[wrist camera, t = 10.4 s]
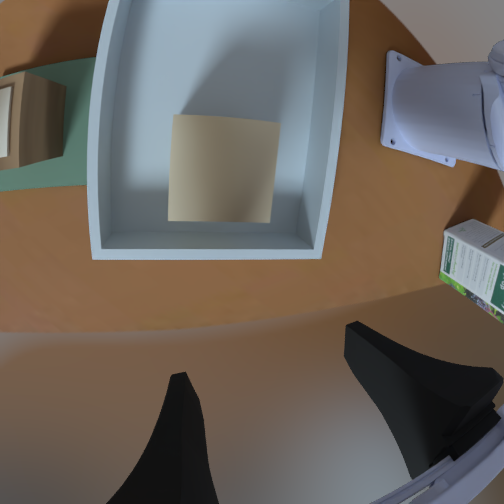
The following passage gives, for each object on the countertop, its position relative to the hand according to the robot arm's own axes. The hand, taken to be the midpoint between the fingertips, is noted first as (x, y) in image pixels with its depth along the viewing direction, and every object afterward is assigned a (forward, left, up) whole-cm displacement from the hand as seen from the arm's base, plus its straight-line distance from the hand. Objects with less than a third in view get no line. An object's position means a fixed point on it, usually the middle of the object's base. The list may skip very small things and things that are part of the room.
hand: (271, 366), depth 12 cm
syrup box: (-24, -2, -10) cm, 26 cm away
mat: (+14, -10, -9) cm, 19 cm away
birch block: (+2, -8, -9) cm, 12 cm away
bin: (+2, -11, -9) cm, 15 cm away
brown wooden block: (+14, -10, -9) cm, 19 cm away
